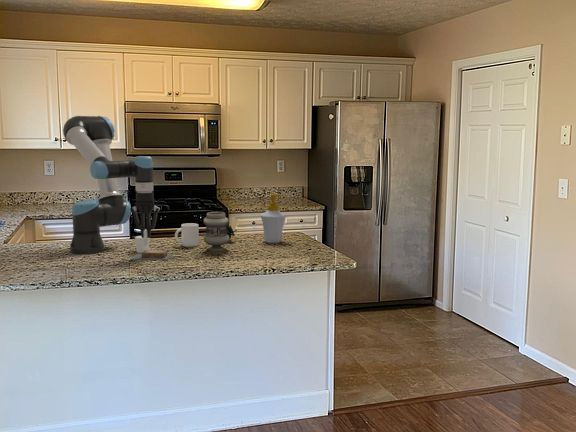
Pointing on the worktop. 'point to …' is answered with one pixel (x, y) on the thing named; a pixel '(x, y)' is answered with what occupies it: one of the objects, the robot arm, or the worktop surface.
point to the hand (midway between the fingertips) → (146, 244)
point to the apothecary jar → (216, 231)
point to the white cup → (140, 244)
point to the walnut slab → (154, 254)
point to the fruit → (229, 231)
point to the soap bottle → (273, 222)
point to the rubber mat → (139, 257)
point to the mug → (188, 235)
